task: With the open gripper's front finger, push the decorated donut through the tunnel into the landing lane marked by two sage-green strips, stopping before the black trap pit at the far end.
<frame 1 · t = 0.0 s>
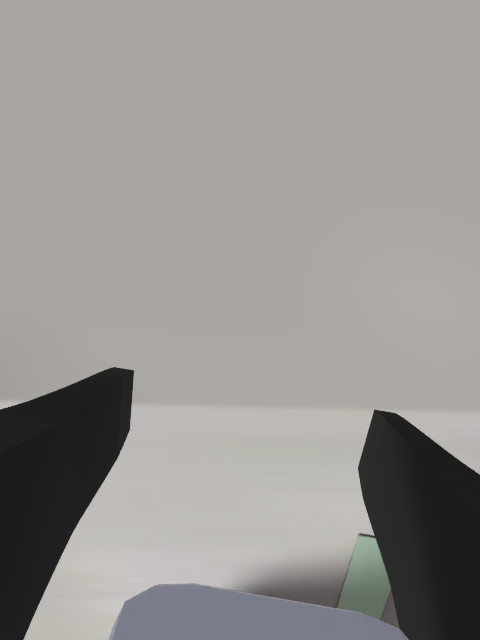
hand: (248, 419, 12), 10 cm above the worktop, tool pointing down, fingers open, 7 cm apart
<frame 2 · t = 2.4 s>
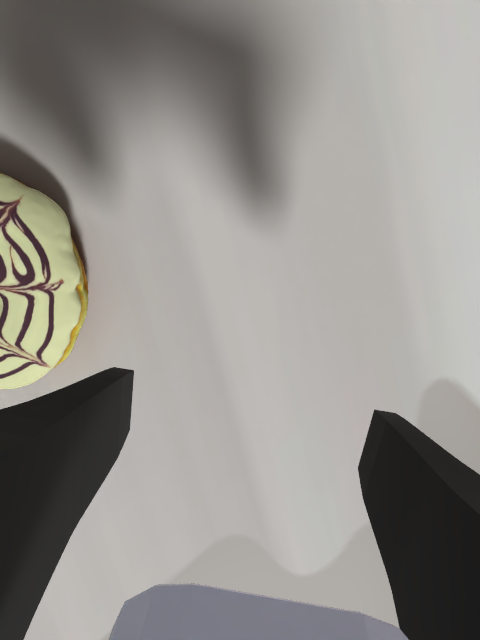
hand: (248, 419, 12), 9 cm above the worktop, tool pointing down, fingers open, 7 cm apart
decorated donut: (7, 273, 22), on the worktop
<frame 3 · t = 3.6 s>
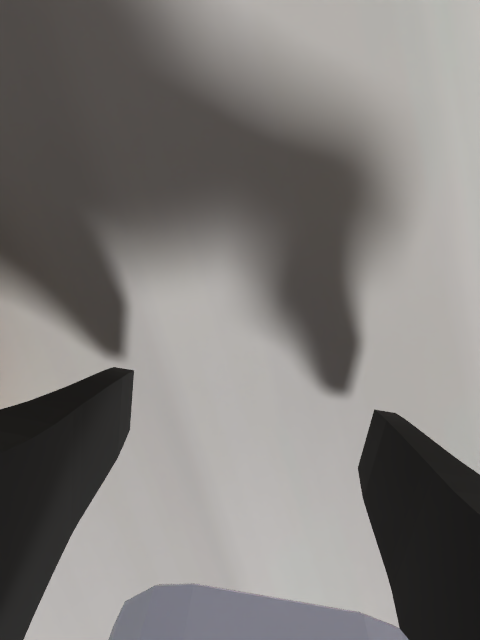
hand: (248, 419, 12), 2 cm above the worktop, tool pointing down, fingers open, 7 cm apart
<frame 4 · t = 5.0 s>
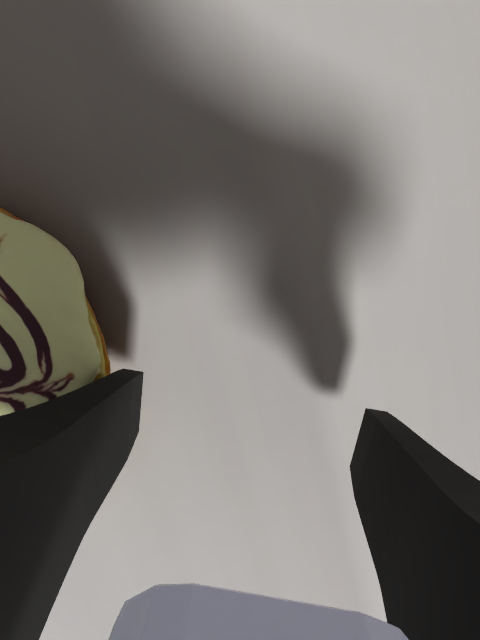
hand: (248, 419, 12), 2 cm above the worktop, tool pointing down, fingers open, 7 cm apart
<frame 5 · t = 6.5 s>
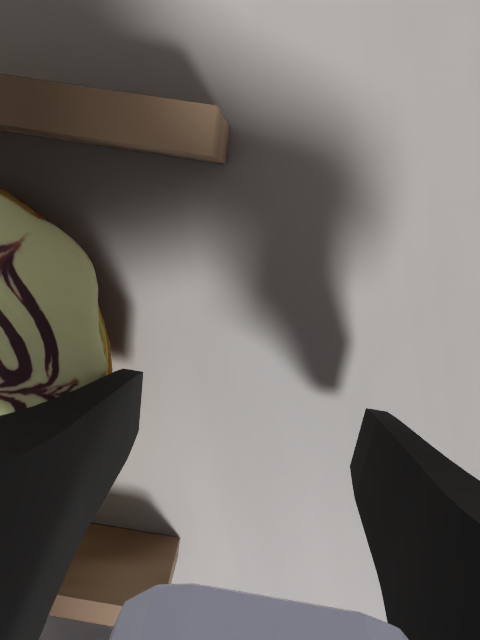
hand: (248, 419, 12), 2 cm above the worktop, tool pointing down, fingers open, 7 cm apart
tunnel walls: (84, 361, 14), on the worktop
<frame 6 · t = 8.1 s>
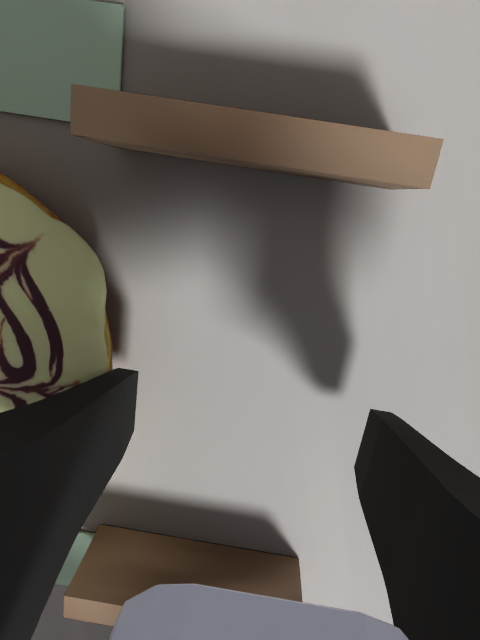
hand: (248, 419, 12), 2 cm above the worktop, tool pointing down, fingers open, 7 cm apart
tunnel walls: (221, 383, 14), on the worktop
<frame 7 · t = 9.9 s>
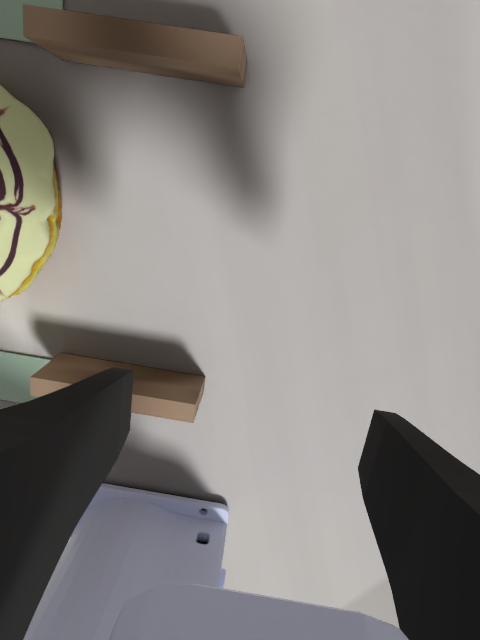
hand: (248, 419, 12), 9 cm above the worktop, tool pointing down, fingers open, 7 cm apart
tunnel walls: (141, 235, 20), on the worktop
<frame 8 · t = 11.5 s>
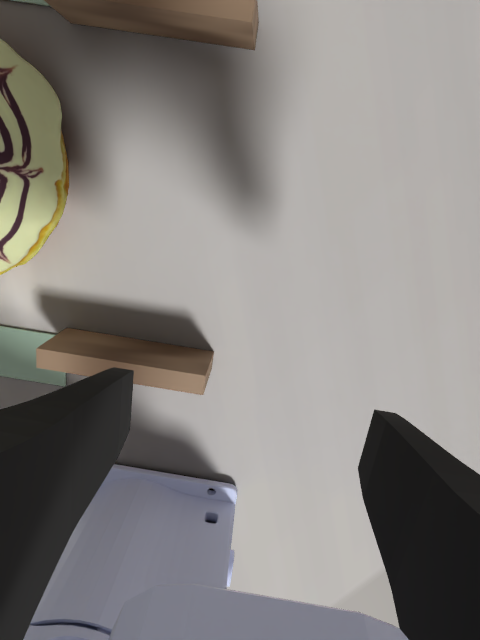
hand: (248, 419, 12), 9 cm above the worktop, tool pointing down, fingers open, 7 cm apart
tunnel walls: (149, 204, 20), on the worktop
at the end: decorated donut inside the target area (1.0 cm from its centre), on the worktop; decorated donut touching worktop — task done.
